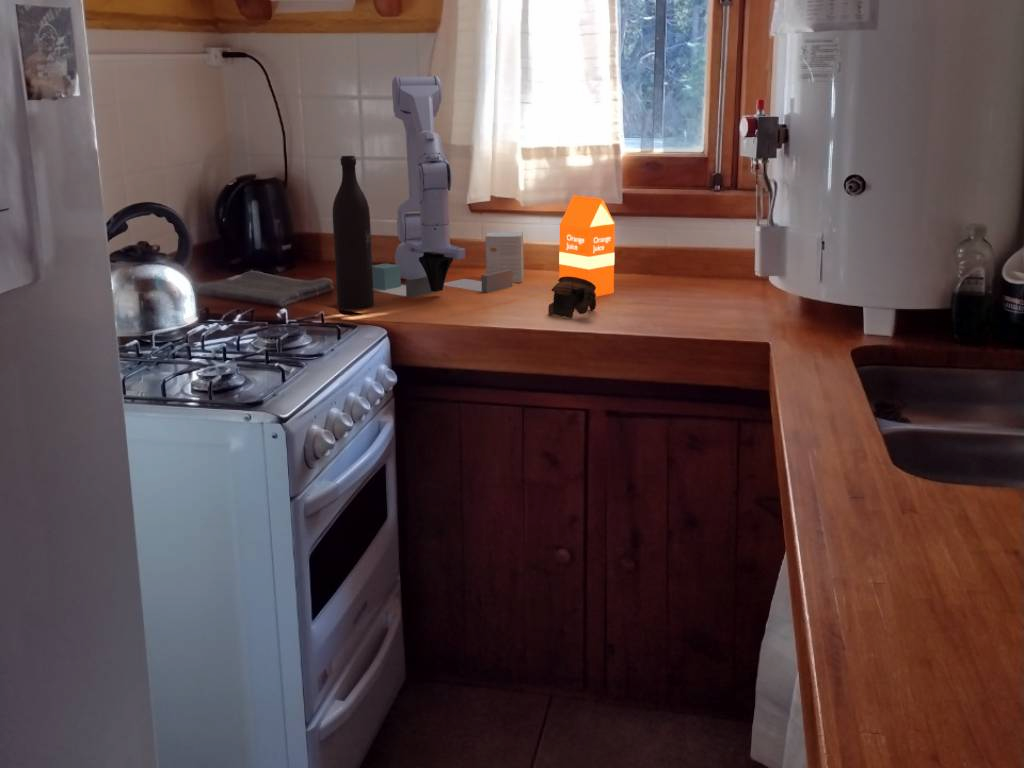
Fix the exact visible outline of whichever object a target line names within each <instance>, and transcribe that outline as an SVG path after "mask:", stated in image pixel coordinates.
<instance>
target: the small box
mask: <svg viewBox="0 0 1024 768" xmlns="http://www.w3.org/2000/svg"><path fill="white" fill-rule="evenodd" d="M524 263H525V262H524V233H523V232H521V231H520V232H519V231H518V232H517V231H515V232H513V231H511V232H509V231H508V232H507V231H506V232H505V231H504V232H498V231H496V232H495V231H493V232H487V234H486V235H485V264H486V265H485V268H486V269H485V272H486V273H485V274H488V273H493V272H497V271H502V270H506V269H508V270H512V283H513V284H514V283H517V284H522V282H523V280H524V277H525V275H524V274H525V269H524V267H525V266H524Z"/></svg>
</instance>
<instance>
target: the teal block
mask: <svg viewBox="0 0 1024 768" xmlns="http://www.w3.org/2000/svg"><path fill="white" fill-rule="evenodd" d="M372 272H373V288H377V289H383V290H387V289H392V288H397V287H401V284H402V283H401V282H402V278H401V276H400V266H399V265H395V264H393V263H391V264H390V263H381V264H375V265H372Z"/></svg>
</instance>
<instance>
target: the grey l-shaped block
mask: <svg viewBox="0 0 1024 768" xmlns="http://www.w3.org/2000/svg"><path fill="white" fill-rule="evenodd" d="M513 284H514V283H512V270H508V269H506V270H502V271H497V272H493V273H488V274H486V273H485V274H484V273H483V274H481V281H480V280H475V279H467V278H462V279H458V280H457V279H456V280H453V281H447V282H444V286H445V287H451V288H456V289H461V290H462V289H463V290H468V291H474V292H478V293H479V292H480V293H486V294H488V293H492V292H497V291H501V290H504V289H509V288H512V287H513ZM444 286H443V287H444Z"/></svg>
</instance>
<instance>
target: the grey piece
mask: <svg viewBox="0 0 1024 768" xmlns="http://www.w3.org/2000/svg"><path fill="white" fill-rule="evenodd" d="M373 292H378V293H380V292H381V293H385V294H390V295H397V296H400V297H406V298H416V297H420V296H424V295H428V294H429V295H430V294H433V293H435V292H434V291H431V288H430V285H429V281H428V278H427V275H425V276H420V277H415V278H410V279H405V284H402V283H401V287H397V288H392V289H387V290H383V289H377V288H373ZM438 292H440V291H438ZM438 292H437V293H438Z"/></svg>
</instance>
